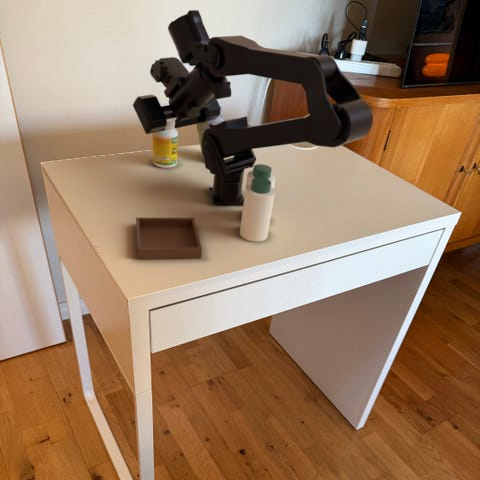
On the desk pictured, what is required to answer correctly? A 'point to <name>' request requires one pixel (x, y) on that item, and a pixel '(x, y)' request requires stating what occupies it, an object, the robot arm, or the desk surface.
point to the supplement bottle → (165, 146)
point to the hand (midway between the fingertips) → (160, 128)
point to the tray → (167, 238)
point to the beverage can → (205, 125)
